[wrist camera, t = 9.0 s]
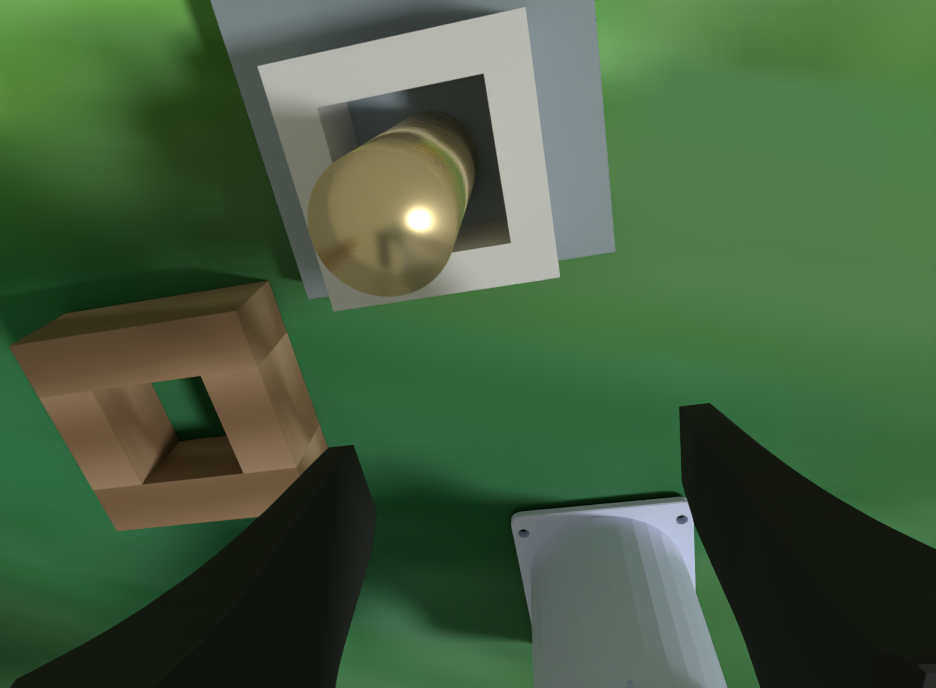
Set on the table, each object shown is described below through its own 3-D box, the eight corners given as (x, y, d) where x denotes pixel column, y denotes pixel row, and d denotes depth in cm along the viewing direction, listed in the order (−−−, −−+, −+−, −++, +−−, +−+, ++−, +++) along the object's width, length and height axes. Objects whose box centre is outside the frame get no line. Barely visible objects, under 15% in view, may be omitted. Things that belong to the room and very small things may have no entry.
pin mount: (334, 465, 27) (313, 511, 24) (155, 485, 28) (117, 531, 25) (268, 280, 23) (235, 310, 20) (65, 313, 24) (8, 346, 21)
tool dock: (609, 239, 21) (644, 309, 15) (320, 284, 23) (253, 364, 17) (554, -392, 14) (579, -695, 9) (148, -263, 16) (-63, -444, 10)
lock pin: (483, 202, 19) (465, 290, 12) (395, 212, 20) (326, 302, 13) (472, 105, 18) (444, 139, 11) (378, 117, 18) (290, 158, 11)
